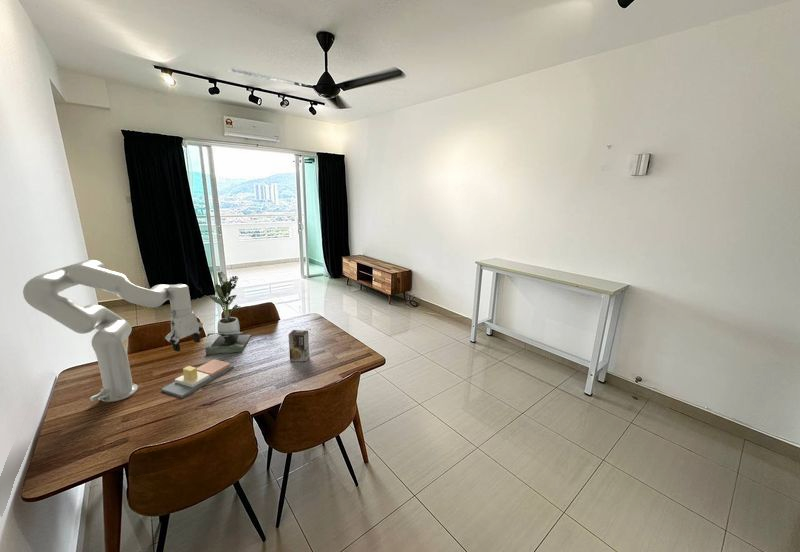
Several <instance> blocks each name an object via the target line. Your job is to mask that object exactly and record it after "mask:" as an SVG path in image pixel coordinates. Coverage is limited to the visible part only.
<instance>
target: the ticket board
mask: <svg viewBox="0 0 800 552" xmlns="http://www.w3.org/2000/svg"><path fill="white" fill-rule="evenodd" d="M196 368H197V371H198V372H202V373H205V374H209V375H210V378H208V379H207V380H205V381H203V382H201V383H200V384H198V385H196V386H194V387H193V388H192V387H189V386H186V385H182V384H179V383H176V382H175V381H173V382H171V383H169V384H168V385H165V386H164V387H162V388H160V389H161V392H163V393H166V394H169V395H172V396H175V397H178V398H181V399H182V398H185V397H186V396H188V395H190V394H192V393H193V392H195V391H197V390H198V389H200V388H202V387H203V386H206V385H207V384H208V383H209V384H210V382H212V381H214V380H215V379H217V378H219V377H221V376H222V375H224V374H226V373H227V372H228V371H230V370H232V369H234V365H233V364H231V363H229V362H226V361H222V360H218V359H215V358H213V359H212V360H210V361H207V362H205V363H204V364H202V365H200V366H198V367H196Z"/></svg>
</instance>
